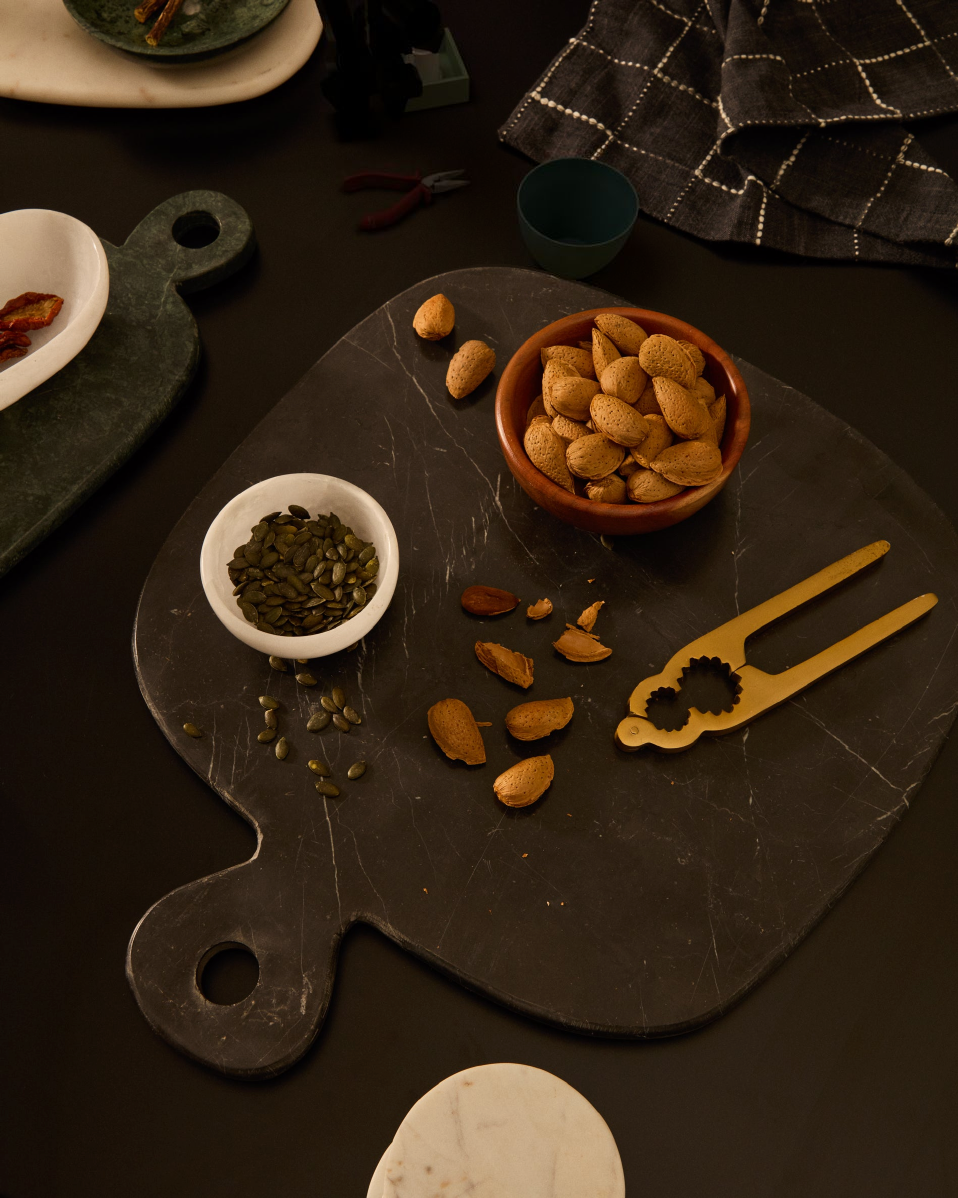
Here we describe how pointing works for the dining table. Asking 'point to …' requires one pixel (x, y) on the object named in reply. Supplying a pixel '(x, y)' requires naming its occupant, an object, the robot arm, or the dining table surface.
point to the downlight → (425, 64)
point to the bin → (444, 80)
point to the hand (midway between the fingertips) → (390, 101)
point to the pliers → (415, 184)
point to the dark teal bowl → (575, 215)
